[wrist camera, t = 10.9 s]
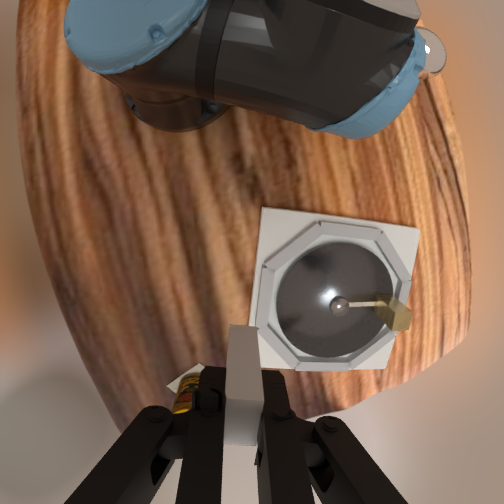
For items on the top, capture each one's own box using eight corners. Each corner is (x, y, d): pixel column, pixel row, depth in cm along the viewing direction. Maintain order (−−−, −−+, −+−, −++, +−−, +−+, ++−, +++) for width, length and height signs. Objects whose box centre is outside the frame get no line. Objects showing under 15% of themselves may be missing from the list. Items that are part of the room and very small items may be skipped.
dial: (273, 355, 42) (278, 385, 35) (278, 240, 39) (286, 254, 32) (379, 349, 43) (399, 375, 36) (396, 243, 39) (423, 255, 32)
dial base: (261, 206, 40) (263, 208, 37) (413, 226, 41) (426, 230, 38) (244, 358, 45) (244, 371, 42) (380, 362, 46) (388, 373, 43)
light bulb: (375, 93, 37) (418, 69, 25) (363, 49, 36) (399, 14, 24) (416, 92, 37) (464, 73, 25) (404, 49, 35) (446, 20, 24)
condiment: (199, 362, 45) (188, 414, 33) (236, 395, 47) (236, 449, 35) (166, 384, 46) (150, 436, 34) (204, 415, 48) (197, 468, 36)
